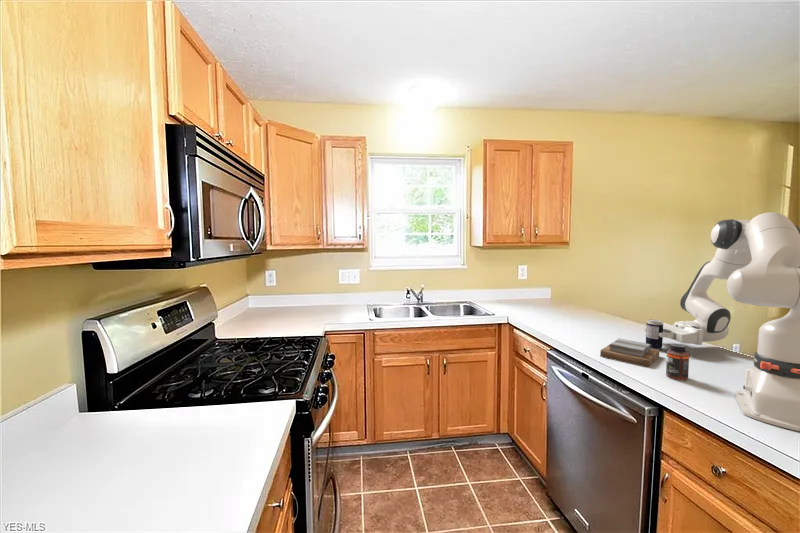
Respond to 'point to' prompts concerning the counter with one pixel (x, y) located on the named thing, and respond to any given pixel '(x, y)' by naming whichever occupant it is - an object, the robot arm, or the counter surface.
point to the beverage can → (654, 334)
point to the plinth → (631, 357)
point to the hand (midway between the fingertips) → (652, 332)
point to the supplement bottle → (677, 362)
